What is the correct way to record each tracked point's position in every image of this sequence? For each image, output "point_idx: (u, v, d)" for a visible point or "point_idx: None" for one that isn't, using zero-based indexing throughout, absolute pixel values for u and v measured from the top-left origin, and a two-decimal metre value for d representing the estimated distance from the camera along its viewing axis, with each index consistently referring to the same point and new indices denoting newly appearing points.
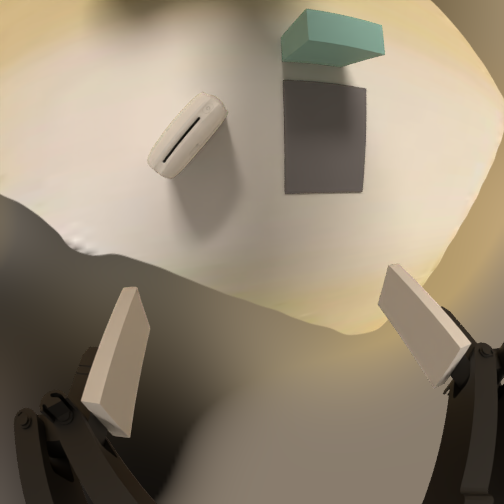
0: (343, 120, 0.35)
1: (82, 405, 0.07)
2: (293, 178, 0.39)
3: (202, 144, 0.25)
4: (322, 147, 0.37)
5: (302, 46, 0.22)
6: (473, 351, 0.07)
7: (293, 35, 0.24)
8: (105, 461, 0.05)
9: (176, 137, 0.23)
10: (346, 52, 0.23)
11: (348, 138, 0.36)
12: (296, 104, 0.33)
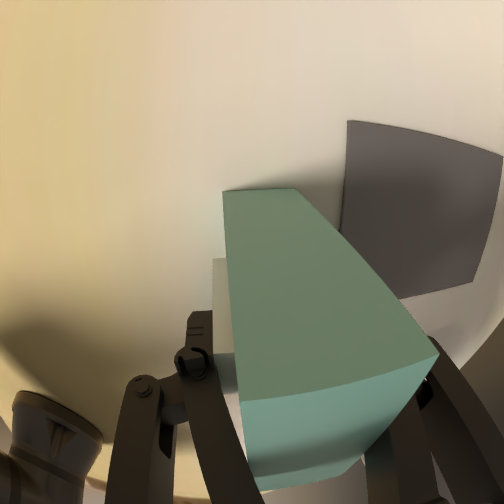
0: (417, 191, 0.15)
1: None
2: (464, 274, 0.20)
3: None
4: (447, 234, 0.17)
5: None
6: None
7: None
8: (230, 424, 0.06)
9: None
10: None
11: (445, 180, 0.15)
12: None
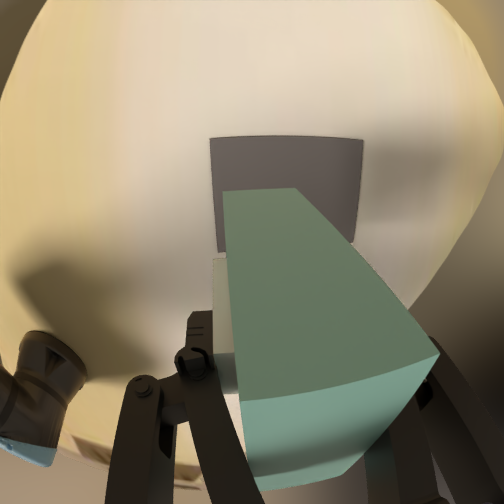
0: (265, 173, 0.28)
1: None
2: None
3: None
4: None
5: None
6: None
7: None
8: (230, 424, 0.06)
9: None
10: None
11: (290, 164, 0.28)
12: None
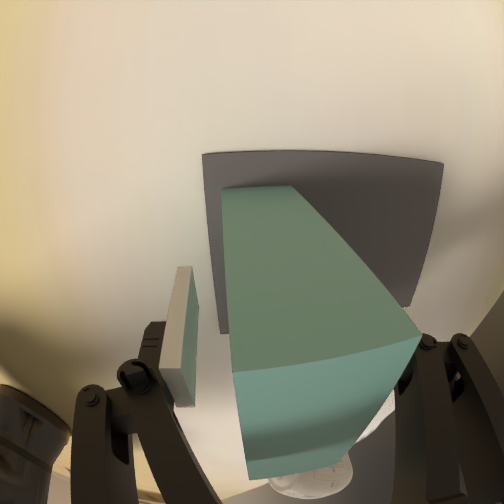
0: None
1: (154, 375, 0.08)
2: None
3: (332, 478, 0.17)
4: None
5: None
6: None
7: None
8: (178, 435, 0.06)
9: None
10: None
11: (343, 201, 0.16)
12: None
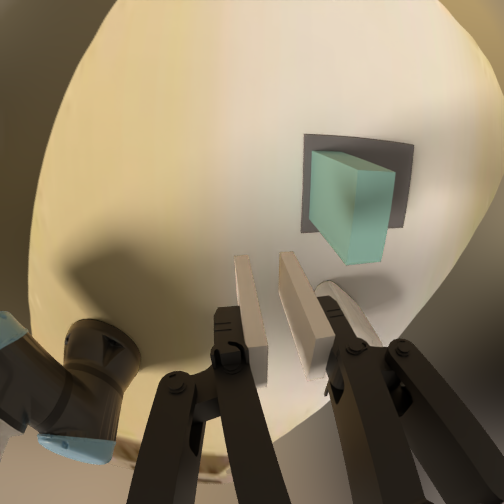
0: None
1: None
2: (392, 220, 0.37)
3: (372, 336, 0.32)
4: None
5: None
6: (338, 352, 0.09)
7: None
8: (262, 419, 0.07)
9: None
10: None
11: None
12: None
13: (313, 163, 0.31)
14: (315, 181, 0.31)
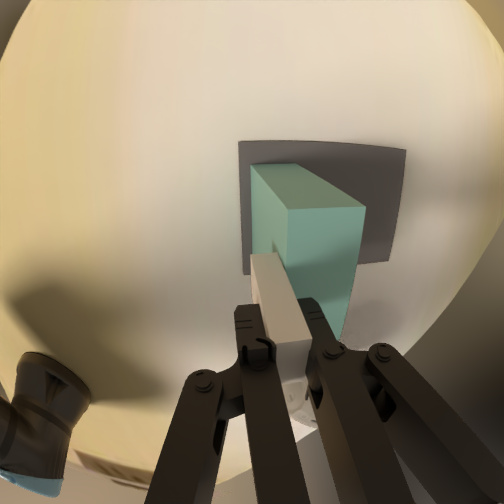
0: None
1: None
2: (374, 253, 0.28)
3: None
4: None
5: None
6: (315, 357, 0.09)
7: None
8: (286, 416, 0.07)
9: None
10: None
11: (331, 175, 0.24)
12: None
13: (251, 183, 0.22)
14: (254, 209, 0.22)
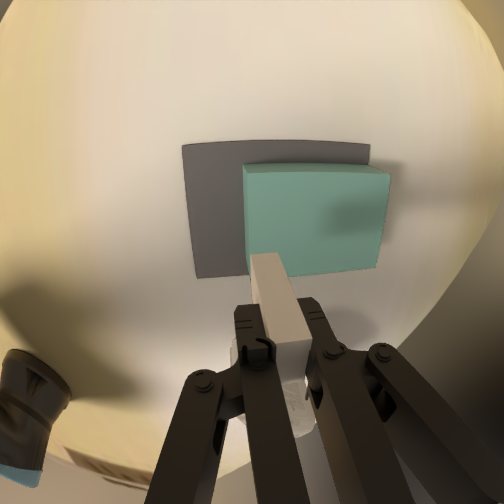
0: None
1: None
2: None
3: (291, 415, 0.23)
4: None
5: None
6: (315, 357, 0.09)
7: None
8: (286, 416, 0.07)
9: None
10: None
11: None
12: (230, 260, 0.26)
13: (256, 193, 0.19)
14: (271, 218, 0.21)
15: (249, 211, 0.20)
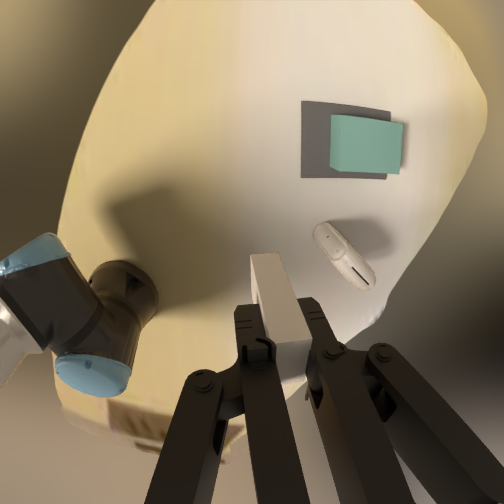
0: None
1: None
2: None
3: (364, 261, 0.40)
4: None
5: None
6: (315, 356, 0.09)
7: None
8: (286, 416, 0.07)
9: (359, 280, 0.40)
10: None
11: None
12: (321, 167, 0.43)
13: (344, 124, 0.36)
14: (350, 137, 0.37)
15: (341, 133, 0.37)
